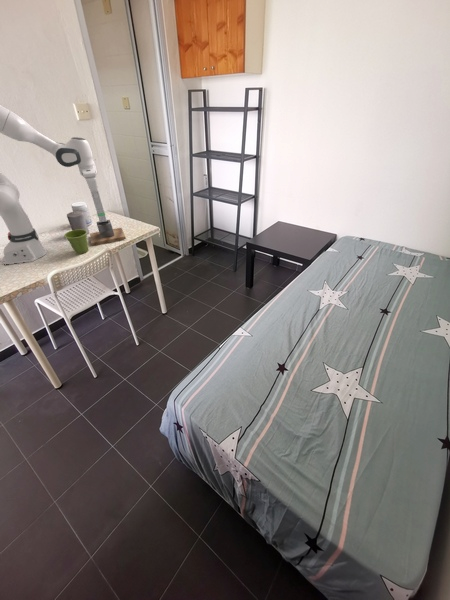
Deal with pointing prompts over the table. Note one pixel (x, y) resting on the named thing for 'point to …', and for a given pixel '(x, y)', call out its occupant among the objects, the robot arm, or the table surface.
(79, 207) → the supplement tub
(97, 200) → the column
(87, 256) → the table surface
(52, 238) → the table surface
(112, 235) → the stand
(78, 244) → the plant pot
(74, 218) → the pillar candle
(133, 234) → the table surface
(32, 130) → the robot arm
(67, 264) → the table surface
